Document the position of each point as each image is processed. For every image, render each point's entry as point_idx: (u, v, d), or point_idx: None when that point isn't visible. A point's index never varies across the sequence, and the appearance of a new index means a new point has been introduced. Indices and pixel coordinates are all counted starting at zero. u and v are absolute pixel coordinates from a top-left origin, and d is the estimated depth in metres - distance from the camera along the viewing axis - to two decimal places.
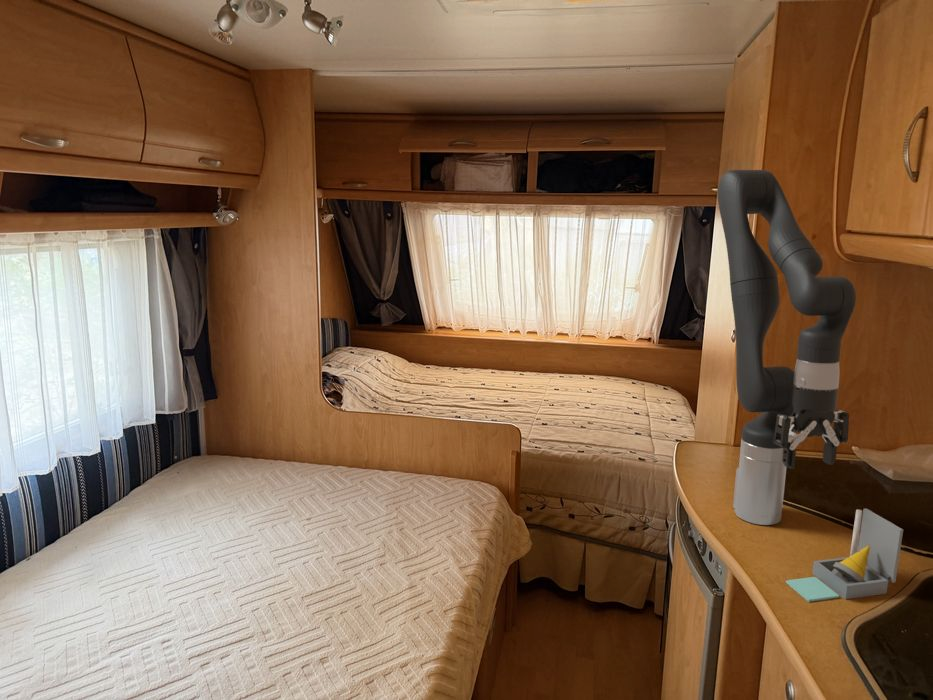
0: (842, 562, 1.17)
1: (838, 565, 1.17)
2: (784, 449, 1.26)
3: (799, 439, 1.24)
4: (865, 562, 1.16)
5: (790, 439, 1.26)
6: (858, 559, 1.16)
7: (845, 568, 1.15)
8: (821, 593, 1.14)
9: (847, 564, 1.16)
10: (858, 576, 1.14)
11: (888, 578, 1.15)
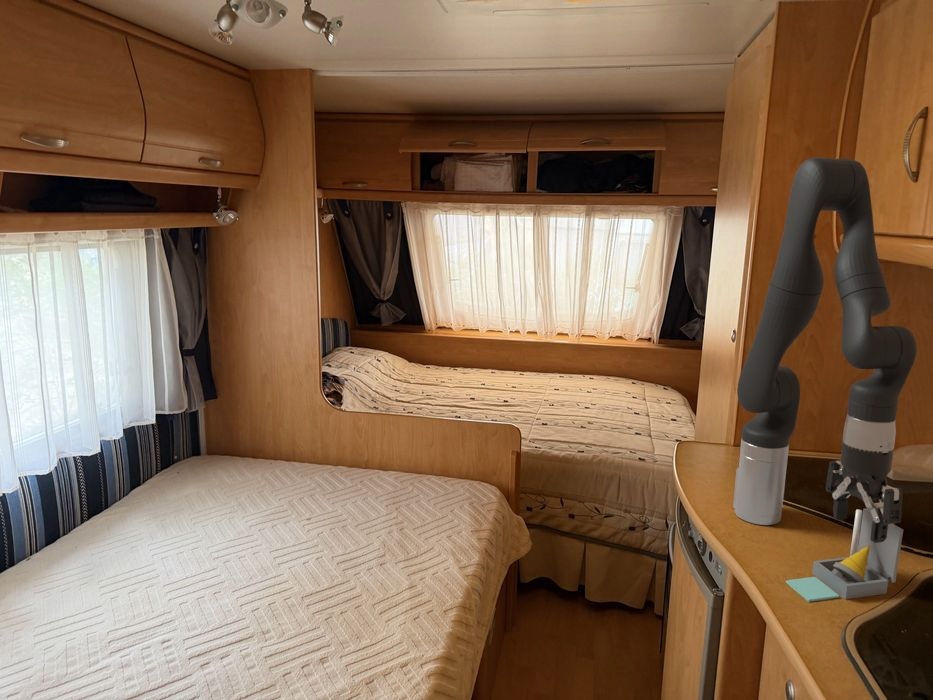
0: (842, 562, 1.17)
1: (838, 565, 1.17)
2: (883, 525, 1.10)
3: None
4: (865, 562, 1.16)
5: None
6: (858, 559, 1.16)
7: (845, 568, 1.15)
8: (821, 593, 1.14)
9: (847, 564, 1.16)
10: (858, 576, 1.14)
11: (888, 578, 1.15)
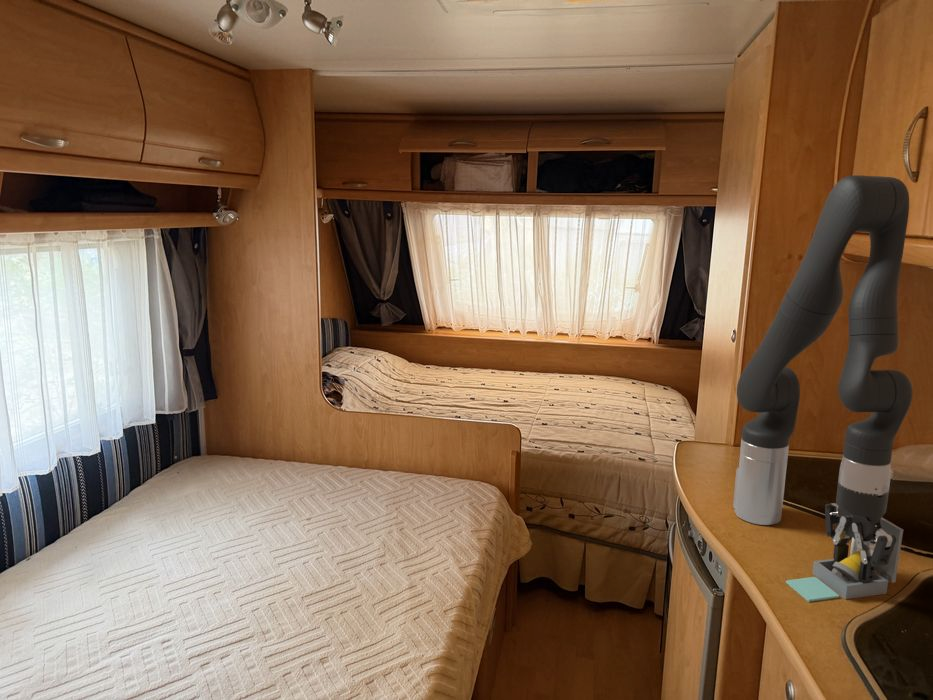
0: (842, 562, 1.17)
1: (838, 565, 1.17)
2: (870, 566, 1.12)
3: None
4: None
5: None
6: (857, 558, 1.16)
7: (845, 568, 1.15)
8: (821, 593, 1.14)
9: (847, 564, 1.16)
10: (858, 576, 1.14)
11: (888, 578, 1.15)
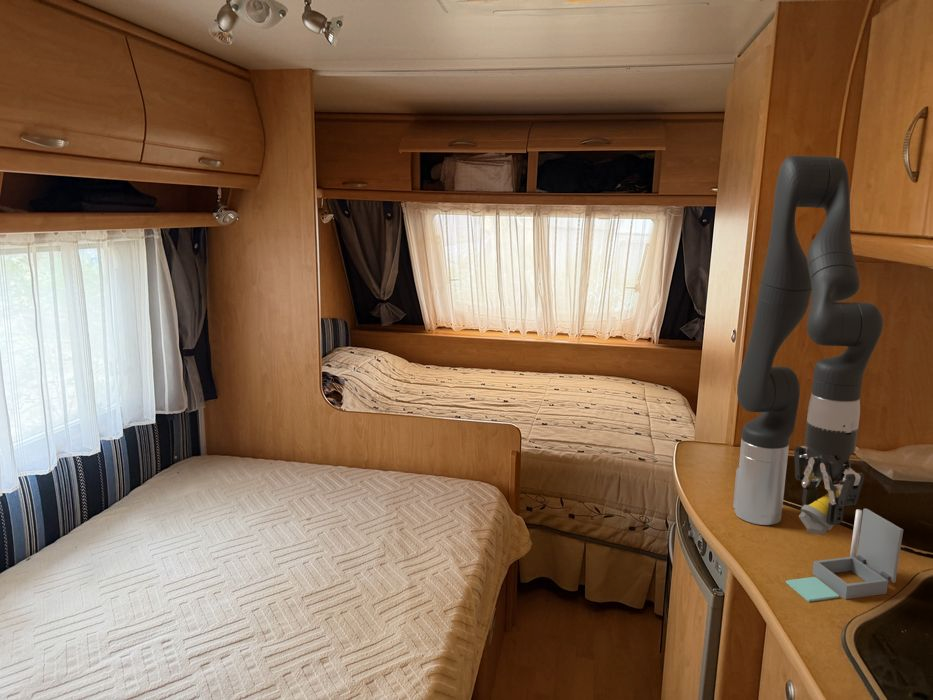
0: (810, 504, 1.13)
1: (806, 507, 1.13)
2: (839, 507, 1.09)
3: None
4: None
5: None
6: (826, 501, 1.13)
7: (813, 510, 1.12)
8: (821, 593, 1.14)
9: (815, 506, 1.12)
10: (826, 518, 1.11)
11: (888, 578, 1.15)
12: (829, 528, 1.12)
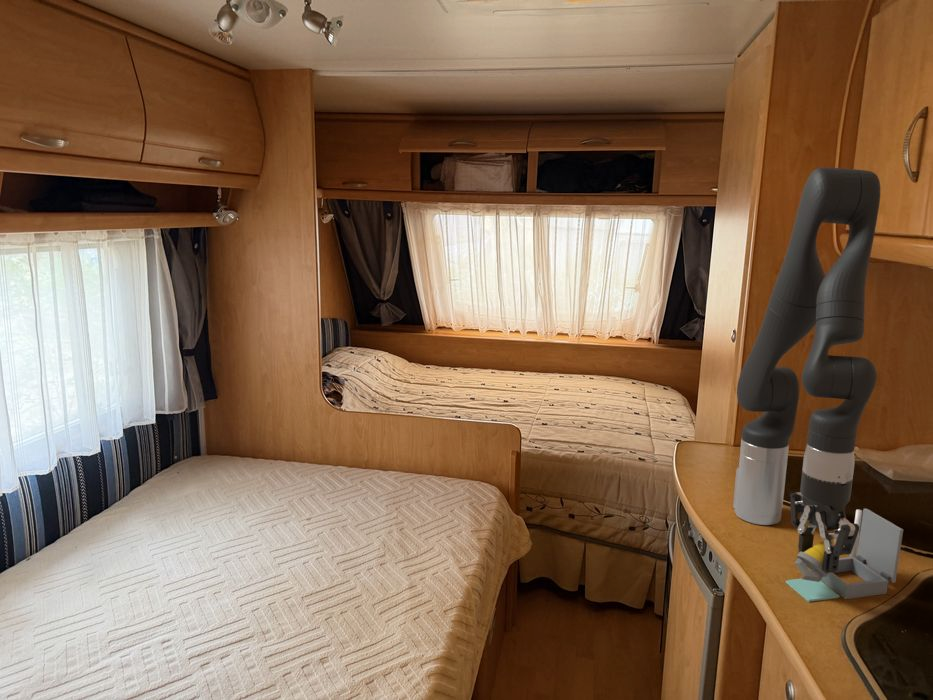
0: (806, 551, 1.15)
1: (802, 554, 1.15)
2: (834, 556, 1.10)
3: None
4: None
5: None
6: (822, 548, 1.14)
7: (809, 557, 1.13)
8: (821, 593, 1.14)
9: (811, 554, 1.14)
10: (821, 565, 1.12)
11: (888, 578, 1.15)
12: (825, 575, 1.13)
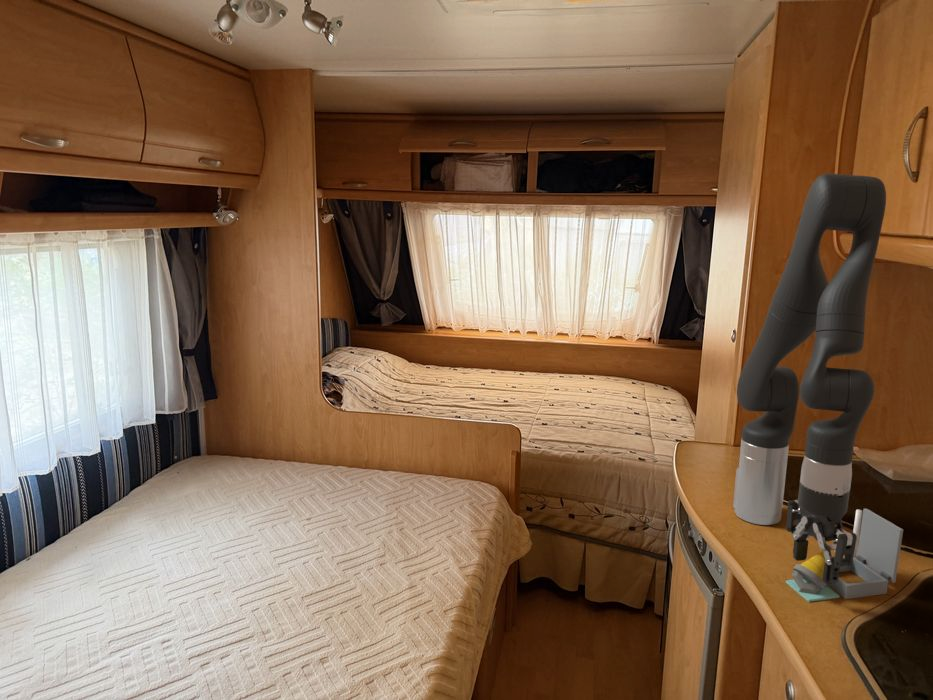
0: (802, 564, 1.16)
1: (798, 567, 1.15)
2: (834, 567, 1.10)
3: None
4: None
5: None
6: (818, 560, 1.15)
7: (805, 570, 1.14)
8: (821, 593, 1.14)
9: (807, 566, 1.15)
10: (818, 578, 1.13)
11: (888, 578, 1.15)
12: (821, 588, 1.14)
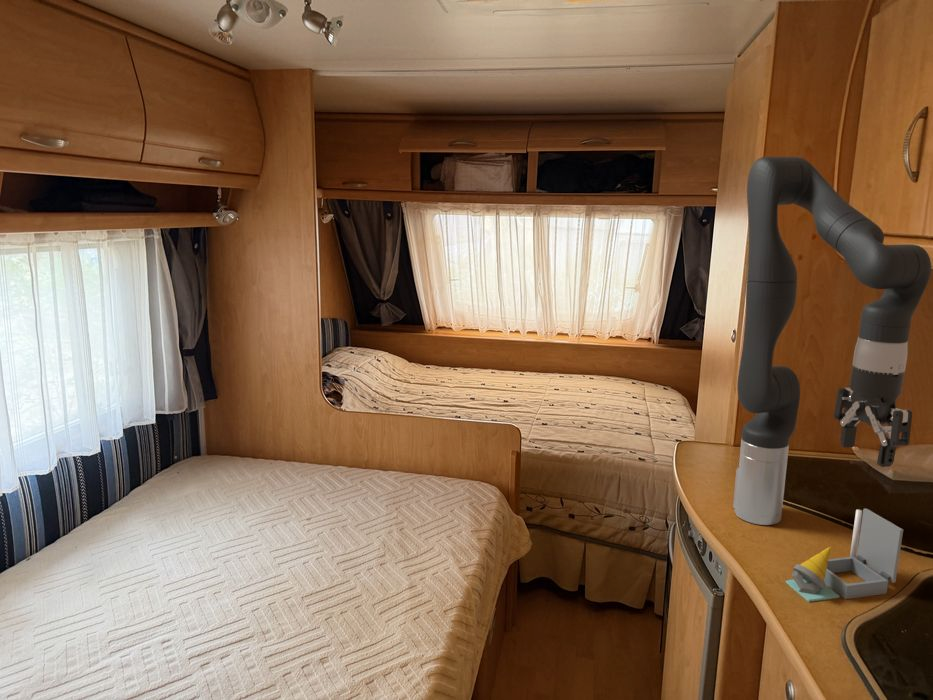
0: (802, 564, 1.16)
1: (798, 567, 1.15)
2: (890, 448, 1.08)
3: None
4: (825, 564, 1.15)
5: None
6: (818, 560, 1.15)
7: (805, 570, 1.14)
8: (821, 593, 1.14)
9: (807, 566, 1.15)
10: (818, 578, 1.13)
11: (888, 578, 1.15)
12: (821, 588, 1.14)
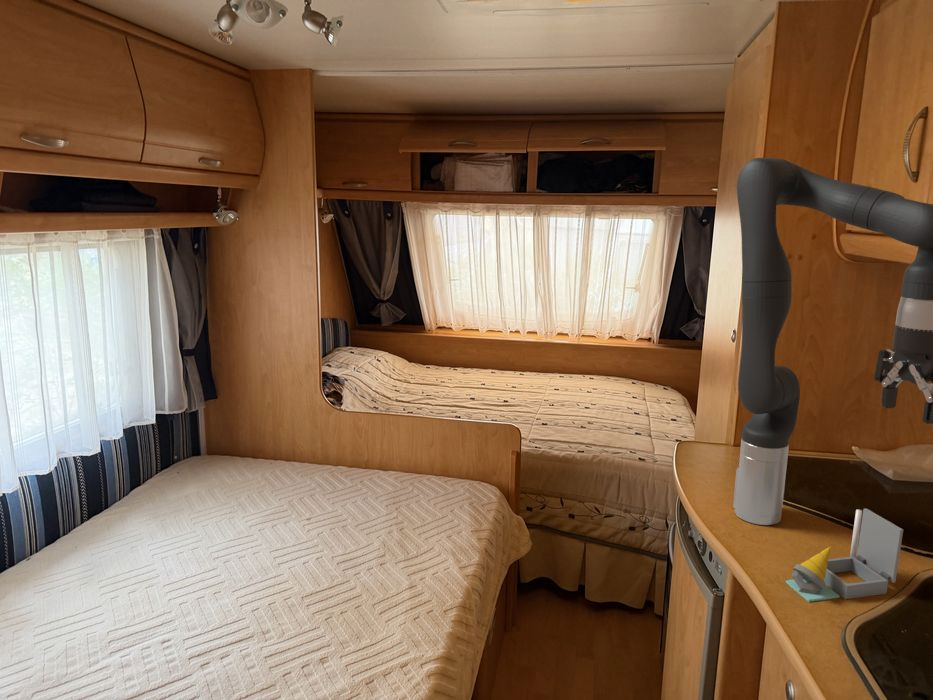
0: (802, 564, 1.16)
1: (798, 567, 1.15)
2: None
3: None
4: (825, 564, 1.15)
5: None
6: (818, 560, 1.15)
7: (805, 570, 1.14)
8: (821, 593, 1.14)
9: (807, 566, 1.15)
10: (818, 578, 1.13)
11: (888, 578, 1.15)
12: (821, 588, 1.14)
